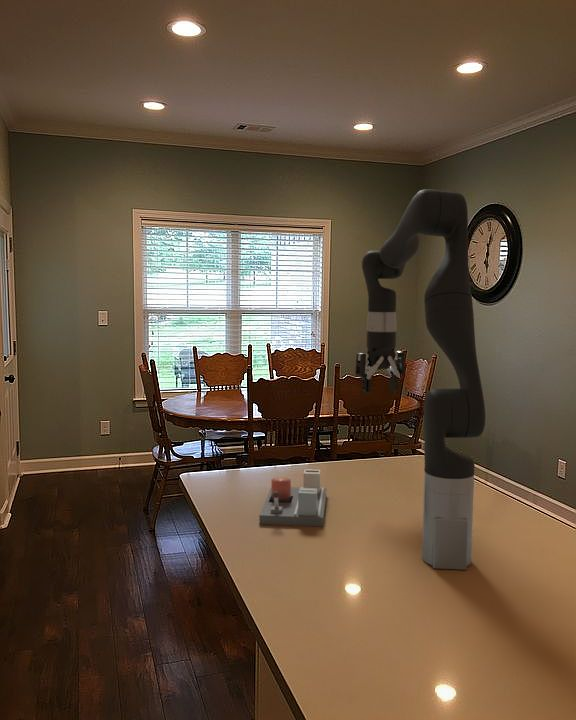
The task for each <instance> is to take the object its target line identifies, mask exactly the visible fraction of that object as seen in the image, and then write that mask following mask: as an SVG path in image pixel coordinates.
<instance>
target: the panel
mask: <svg viewBox="0 0 576 720" xmlns="http://www.w3.org/2000/svg"><path fill="white" fill-rule="evenodd" d="M299 488H303V486H301V487H300V486H299V487H294V486H291V497H290V498H289V499H284V500H278V497H279V493H278V492H274V493H273V497H274V499H273V498H272V497H271V488H270V490H269V492H268V494H267V497H266V499H265V501H264V503H263V506H262V508H261V510H260V513H259V516H258V517H259V519H258V520H259V523H258V524H259V525H271V526H272V525H273V526H274V525H275V526H295V527H296V526H297V527H299V526H302V527H322V528H323V526H324V518H325V510H326V502H327V488H324V487H323V486H322V487H320V494H317V514H316V516H310V515H298V492H299Z"/></svg>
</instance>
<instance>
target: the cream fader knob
mask: <svg viewBox="0 0 576 720" xmlns="http://www.w3.org/2000/svg"><path fill="white" fill-rule="evenodd" d="M302 487H303V488H317V494H320V488H321V469H313V468H312V469H309V468H308V469H305V468H304V471H303V485H302Z"/></svg>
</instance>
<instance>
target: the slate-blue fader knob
mask: <svg viewBox="0 0 576 720" xmlns="http://www.w3.org/2000/svg"><path fill="white" fill-rule="evenodd" d="M316 514H317V488H301V487H300V488H299V492H298V515H310V516H316Z"/></svg>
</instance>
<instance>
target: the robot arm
mask: <svg viewBox="0 0 576 720" xmlns="http://www.w3.org/2000/svg"><path fill="white" fill-rule="evenodd" d="M468 213H469V212H468V204H467V201H466V199H465V196H464V195H463V194H461V193H460V192H457V191H450V190H449V191H448V190H442V189H441V190H439V189H434V188H433V189H431V188H424V189H421V190H418V192H417V193H416V194H414V196H413V197H412V198H411V200H410V202H409V204H408V206H407V207H406V209H405V211H404V213H403V215H402V217H401V219H400V221H399V223H398V225H397V227H396V229H395V230H394V232H393V233H392V234H391V236H389V238H388V239H386V240H385V242H384V243H383V244H382V246H381V248H380V250H369V251H367V252H366V253H365V254H364V256H363V257H362V261H361V269H362V273H363V276H364V277H363V278H364V280H365V284H366V290H367V294H368V295H367V297H368V300H367V301H368V303H367V304H368V306H367V310H368V311H367V318H366V319H367V320H366V348H367V352H366V353H363V352H357V353H356V359H355V371H354V373H355V376H356V377H359V378H361V390H362V392H363V394H366V395H369V394H371V389H372V387H371V386H372V380H371V378H372V376H373V374H374V373H376V371H377V370H383V369H384V370H386V371H387V372H388V373H389V375H390V376H389V391H390V392H397V390H398V389H399V377H400V376H401V375H405V374H406V354H405V352H404V351H400V350H396V351H395V349H396V347H397V323H398V322H397V321H398V320H397V293H396V291H395V290H394V289H393V288H389V287H385V286H383V285H382V284H381V283H380V281H379V280H383V279H385V280H394V279H398V278H400V277H401V276H402V275H403V273H404V269H405V267H406V264H407V263H408V262H409V261H410V260H411V259H412V258H413V257H414V255H416V253H417V251H418V249H419V245H420V244H419V243H420V241H419V236H418V234H421V235H425V236H434V237H443V238H444V243H445V248H444V249H445V251H444V256H443V259H442V261H441V262H440V265H439V267H438V269H436V272H435V273H434V275H433V276H432V277H431V278H430V281H429V283H427V286H426V289H425V292H424V295H423V297H424V298H423V299H424V301H423V302H424V315H425V316H424V317H425V324H426V325H425V326H426V329H427V331H428V332H429V334H430V336H431V337H432V339H433V340H434V342H435V343H436V344H437V346H438V347H439V349H440V350H442V352H443V353H444V355H446V357H447V359H448V360H449V361H450V363H451V365H452V367H453V369H454V371H455V374H456V377H457V381H458V383H459V388H432V389H429V390H428V391H427V392H426V394H425V396H424V401H423V430H424V432H423V433H424V441H423V442H424V445H423V446H424V448H423V450H424V452H423V453H424V454H423V455H424V469H423V471H424V477H423V479H424V480H423V503H422V504H423V506H422V507H423V509H422V510H423V511H422V541H421V542H422V543H421V544H422V547H421V559H422V560H423V561H424V562H425V563H426V564H428V565H430V566H431V567H432V568H433V569H442V570H443V569H445V570H464V571H466V570H467V569H468V567H469V566H471V564H472V550H473V549H472V548H473V521H474V518H473V517H474V495H475V494H474V490H475V461H474V460H473V458H472V457H470V456H468V455H467V454H464V453H461V452H458V451H456V450H453V449H451V448H450V447H448V446H446V442H445V439H447V438H449V439H450V438H451V439H452V438H453V439H457V438H459V439H460V438H461V439H462V438H463V439H464V438H467V439H468V438H471V439H472V438H478V437H480V436H482V435H483V433H484V431H485V426H486V406H485V400H484V393H483V386H482V381H481V375H480V369H479V364H478V356H477V347H476V335H475V333H476V332H475V319H474V305H473V296H472V289H471V280H470V279H471V277H470V268H469V267H470V266H469V247H468V246H469V214H468ZM394 361H395V362H394ZM366 362H367V363H366Z"/></svg>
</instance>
